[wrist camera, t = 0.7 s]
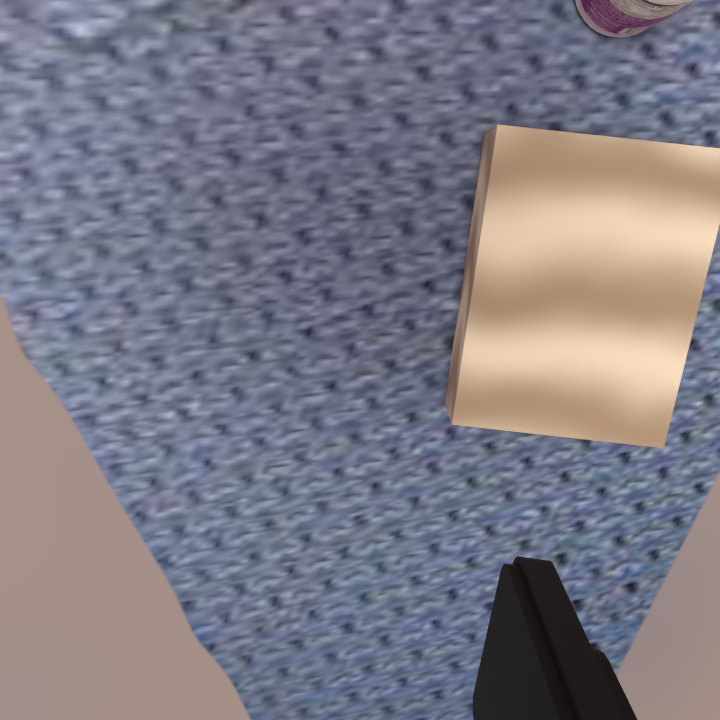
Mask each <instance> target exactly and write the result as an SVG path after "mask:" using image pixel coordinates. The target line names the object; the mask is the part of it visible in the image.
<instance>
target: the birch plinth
mask: <svg viewBox="0 0 720 720" xmlns="http://www.w3.org/2000/svg"><path fill="white" fill-rule="evenodd" d="M719 224H720V148H710V147H701V146H692V145H683V144H673V143H664V142H655V141H646V140H636V139H627V138H618V137H608V136H599V135H590V134H581V133H571V132H562V131H553V130H544V129H534V128H525V127H516V126H507V125H496V126H495V127H493V128H491V129H490V130H488V131H487V132H485V134H484V140H483V147H482V154H481V161H480V167H479V174H478V181H477V188H476V194H475V201H474V208H473V215H472V221H471V228H470V235H469V242H468V248H467V255H466V262H465V269H464V276H463V282H462V289H461V296H460V303H459V309H458V316H457V323H456V330H455V336H454V343H453V350H452V357H451V363H450V370H449V377H448V384H447V390H446V397H445V404H446V408H447V411H448V414H449V417H450V420H451V424H452V425H460V426H469V427H478V428H487V429H496V430H505V431H514V432H523V433H533V434H542V435H551V436H560V437H569V438H578V439H587V440H596V441H605V442H614V443H623V444H632V445H641V446H650V447H659V448H664V445H665V441H666V437H667V433H668V429H669V425H670V421H671V417H672V413H673V409H674V405H675V401H676V397H677V393H678V389H679V385H680V381H681V377H682V372H683V368H684V364H685V360H686V356H687V352H688V348H689V344H690V340H691V336H692V332H693V328H694V324H695V320H696V316H697V312H698V308H699V304H700V300H701V296H702V292H703V288H704V284H705V280H706V276H707V272H708V268H709V264H710V260H711V256H712V252H713V248H714V244H715V240H716V236H717V232H718V228H719Z"/></svg>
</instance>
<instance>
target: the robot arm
mask: <svg viewBox="0 0 720 720" xmlns="http://www.w3.org/2000/svg"><path fill="white" fill-rule="evenodd" d="M473 718H474V720H637V718H636V716H635V714H634V712H633V710H632V708H631V706H630V704H629V701H628V699H627V697H626V695H625V693H624V691H623V689H622V687H621V685H620V683H619V681H618V679H617V677H616V675H615V673H614V671H613V668H612V666H611V664H610V662H609V660H608V659H607V657H606V656H605V654H604V653H603V652H601V651H600V650H596V649H592V647H591V645H590V643H589V641H588V638H587V636H586V634H585V632H584V630H583V628H582V625H581V623H580V621H579V619H578V617H577V615H576V612H575V610H574V608H573V606H572V604H571V602H570V599H569V597H568V595H567V593H566V591H565V589H564V586H563V584H562V582H561V580H560V578H559V576H558V573H557V571H556V569H555V567H554V565H553V563H552V562H551V561H547V560H540V559H532V558H525V557H516V558H515V560H514V562H513V565H511V564H504V565H503V566H502V569H501V572H500V577H499V581H498V586H497V590H496V595H495V599H494V604H493V608H492V613H491V617H490V622H489V626H488V631H487V635H486V640H485V644H484V649H483V653H482V658H481V662H480V667H479V671H478V676H477V680H476V685H475V689H474V695H473Z"/></svg>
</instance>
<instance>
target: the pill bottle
mask: <svg viewBox="0 0 720 720" xmlns="http://www.w3.org/2000/svg"><path fill="white" fill-rule="evenodd" d="M692 1H694V0H575V2H576V5H577V8H578V11H579V13H580V15H581V16H582V18H583V19H584V21H585V22H586V23H587V24H588V25H589V26H590V27H591V28H592V29H594V30H595V31H596V32H598V33H600V34H603V35H606V36H610V37H618V38H621V37H629V36H632V35H635V34H638V33H640V32H642V31H644V30H646V29H648V28H649V27H651V26H653V25H655V24H656V23H658V22H660V21H661V20H663V19H665V18H667V17H668V16H670V15H672V14H673V13H675V12H676V11H678V10H679V9H681V8H683V7H684V6H686V5H687V4H689V3H691V2H692Z"/></svg>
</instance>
